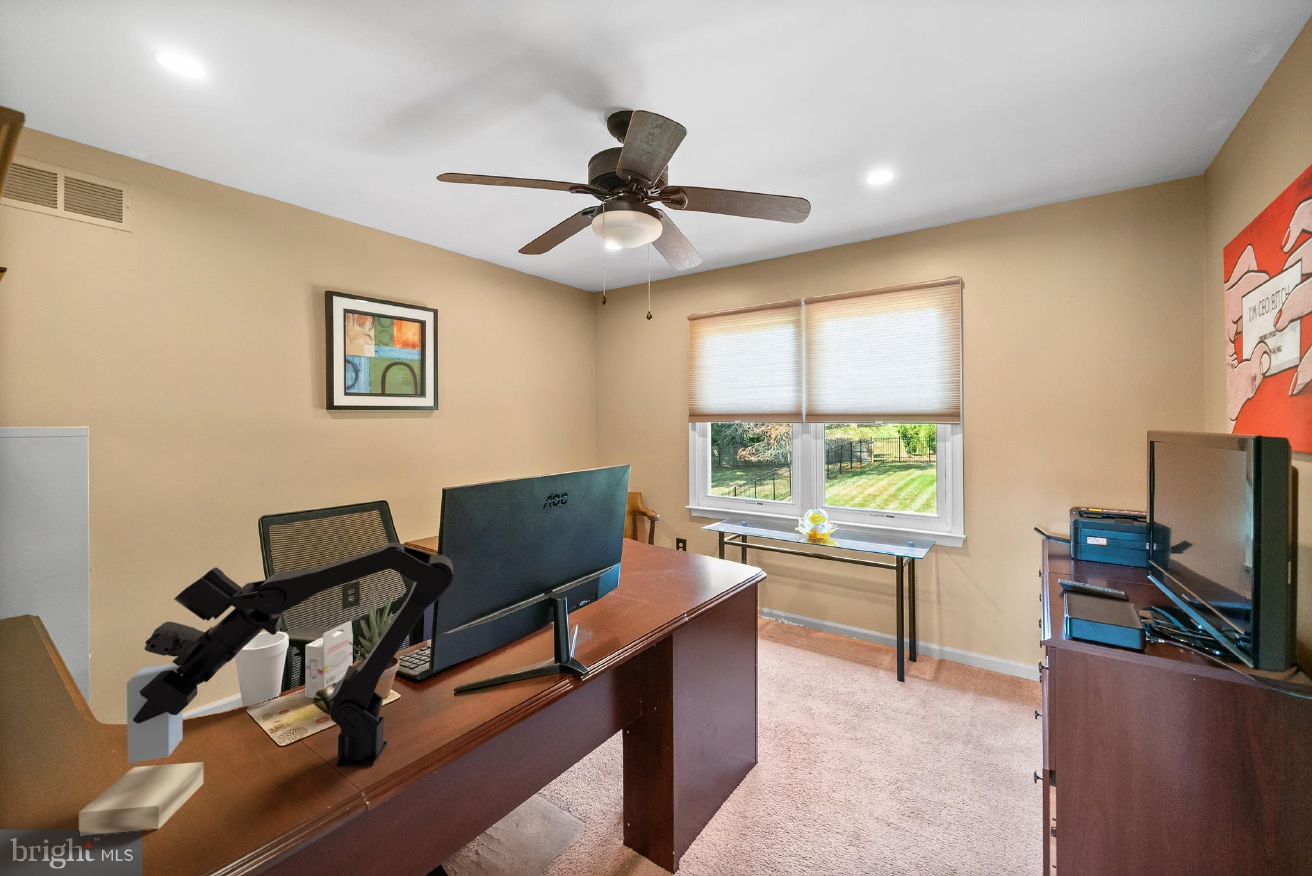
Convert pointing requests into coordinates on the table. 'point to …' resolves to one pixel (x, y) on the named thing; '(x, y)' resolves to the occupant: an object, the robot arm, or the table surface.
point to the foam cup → (261, 668)
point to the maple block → (142, 798)
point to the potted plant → (372, 638)
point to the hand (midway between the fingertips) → (145, 712)
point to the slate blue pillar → (150, 722)
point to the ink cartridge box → (328, 659)
